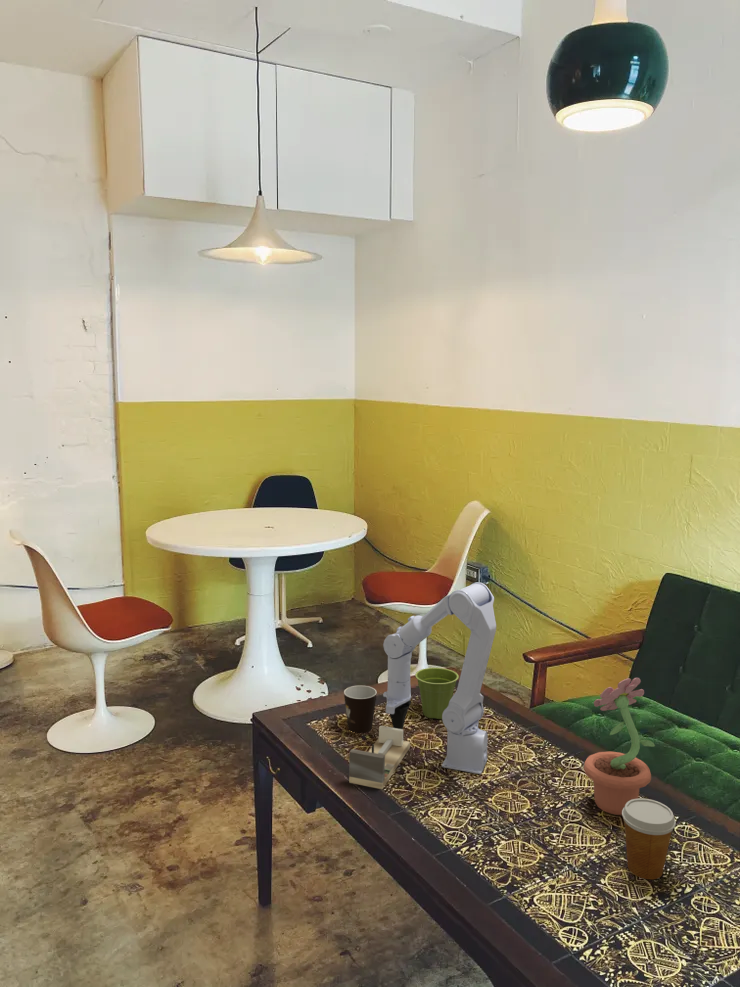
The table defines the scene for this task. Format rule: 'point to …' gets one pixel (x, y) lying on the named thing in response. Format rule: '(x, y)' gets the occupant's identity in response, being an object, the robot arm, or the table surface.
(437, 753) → the table surface
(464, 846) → the table surface
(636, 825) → the disposable coffee cup
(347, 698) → the coffee mug
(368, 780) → the beige l-shaped stand
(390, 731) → the white t-shaped block
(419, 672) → the plant pot
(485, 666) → the robot arm
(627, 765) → the decorative flower
